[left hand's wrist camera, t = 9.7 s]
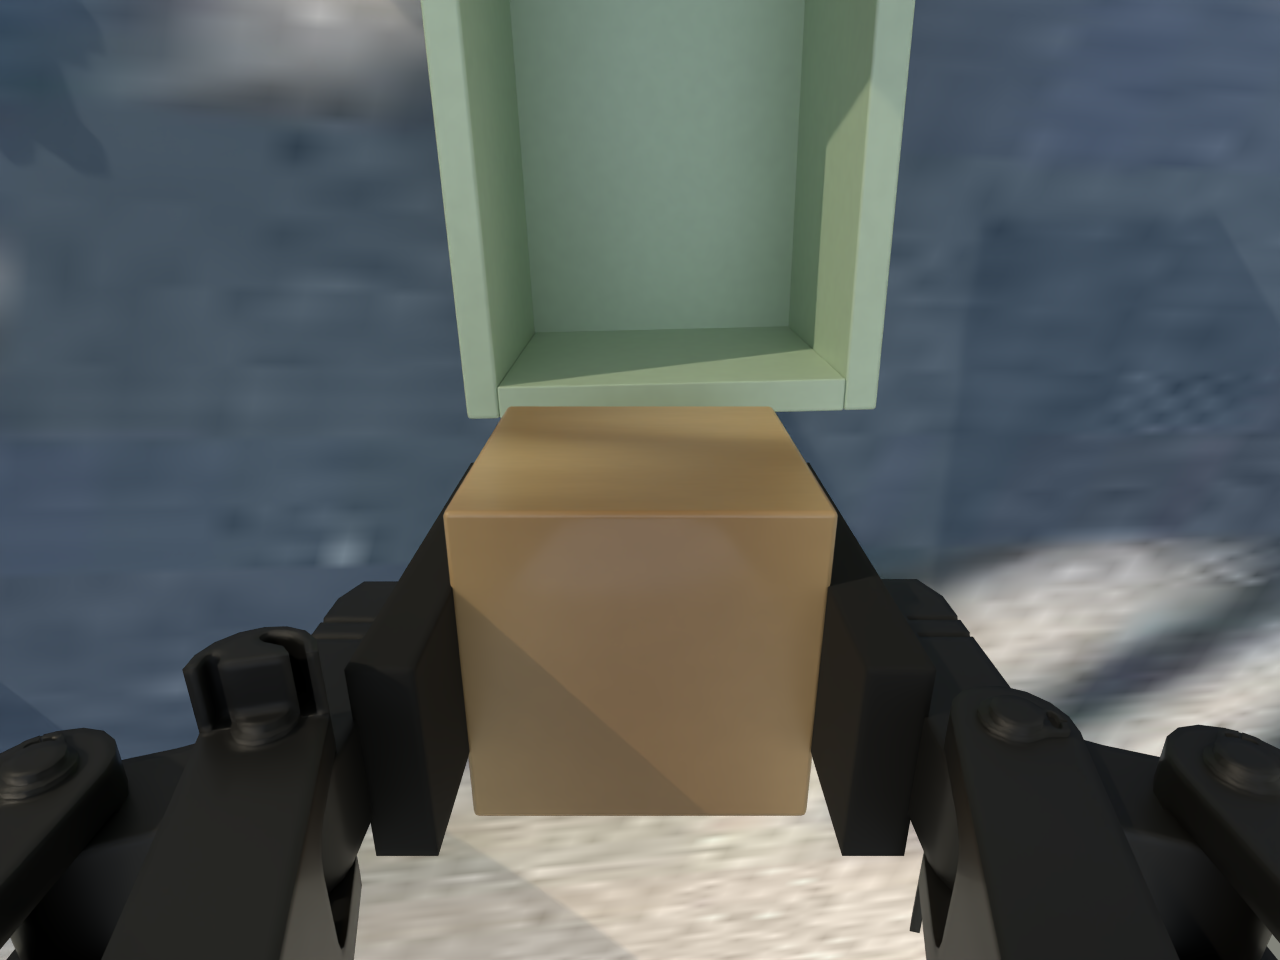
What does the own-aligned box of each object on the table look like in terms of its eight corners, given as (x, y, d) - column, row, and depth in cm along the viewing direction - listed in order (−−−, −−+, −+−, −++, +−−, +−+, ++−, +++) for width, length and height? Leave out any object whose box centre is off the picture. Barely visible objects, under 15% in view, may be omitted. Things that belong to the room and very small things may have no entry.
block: (522, 632, 16) (472, 818, 11) (507, 405, 14) (440, 511, 9) (757, 632, 16) (806, 818, 11) (772, 405, 14) (840, 512, 9)
